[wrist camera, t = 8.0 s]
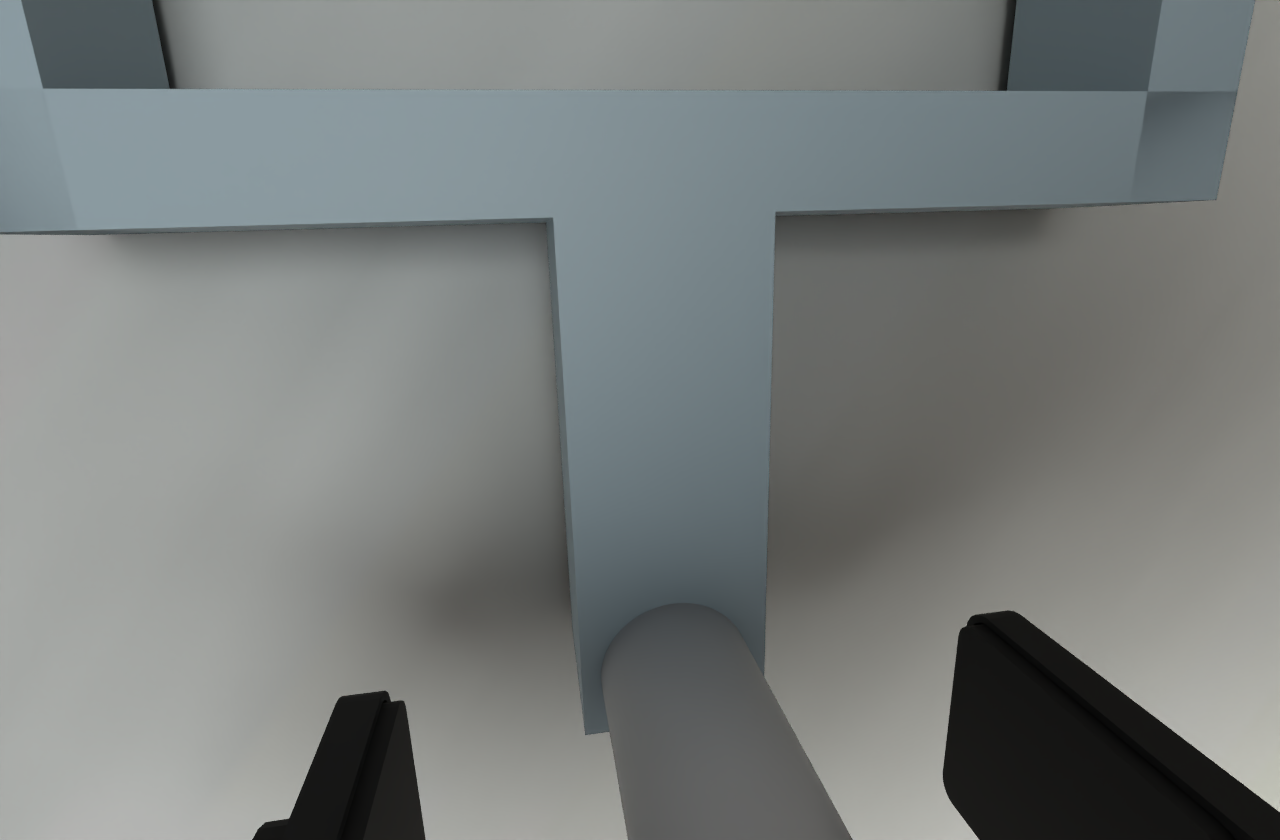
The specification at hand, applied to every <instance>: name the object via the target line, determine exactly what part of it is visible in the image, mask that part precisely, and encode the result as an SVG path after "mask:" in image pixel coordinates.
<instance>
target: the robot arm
mask: <svg viewBox="0 0 1280 840" xmlns="http://www.w3.org/2000/svg"><path fill="white" fill-rule="evenodd" d="M943 782H944V786H945V790H946V793H947V795H948V797H949V799H950V801H951V802H952V804H953V805H954V807H955V808H956V809H957V811H958V812H959V813H960V815H961V816H962V817H963V818H964V820H965V821H966V822H967V824H968V825H969V826H970V828H971V829H972V830H973V832H974V833H975V834H976V836H977V837H978V838H979V840H1280V812H1278V811H1277V810H1276V809H1275V808H1273V807H1272V806H1271V805H1269V804H1268V803H1267V802H1265V801H1264V800H1263V799H1261V798H1260V797H1259V796H1257V795H1256V794H1255V793H1254V792H1252V791H1251V790H1250V789H1248V788H1247V787H1246V786H1244V785H1243V784H1242V783H1240V782H1239V781H1238V780H1236V779H1235V778H1234V777H1233V776H1231V775H1230V774H1229V773H1227V772H1226V771H1225V770H1223V769H1222V768H1221V767H1219V766H1218V765H1217V764H1215V763H1214V762H1213V761H1212V760H1210V759H1209V758H1208V757H1206V756H1205V755H1204V754H1202V753H1201V752H1200V751H1198V750H1197V749H1196V748H1194V747H1193V746H1192V745H1191V744H1189V743H1188V742H1187V741H1185V740H1184V739H1183V738H1181V737H1180V736H1179V735H1177V734H1176V733H1175V732H1173V731H1172V730H1171V729H1170V728H1168V727H1167V726H1166V725H1164V724H1163V723H1162V722H1160V721H1159V720H1158V719H1156V718H1155V717H1154V716H1152V715H1151V714H1150V713H1149V712H1147V711H1146V710H1145V709H1143V708H1142V707H1141V706H1139V705H1138V704H1137V703H1135V702H1134V701H1133V700H1132V699H1130V698H1129V697H1128V696H1126V695H1125V694H1124V693H1122V692H1121V691H1120V690H1118V689H1117V688H1116V687H1114V686H1113V685H1112V684H1111V683H1109V682H1108V681H1107V680H1105V679H1104V678H1103V677H1101V676H1100V675H1099V674H1097V673H1096V672H1095V671H1093V670H1092V669H1091V668H1090V667H1088V666H1087V665H1086V664H1084V663H1083V662H1082V661H1080V660H1079V659H1078V658H1076V657H1075V656H1074V655H1072V654H1071V653H1070V652H1069V651H1067V650H1066V649H1065V648H1063V647H1062V646H1061V645H1059V644H1058V643H1057V642H1055V641H1054V640H1053V639H1051V638H1050V637H1049V636H1048V635H1046V634H1045V633H1044V632H1042V631H1041V630H1040V629H1038V628H1037V627H1036V626H1034V625H1033V624H1032V623H1030V622H1029V621H1028V620H1027V619H1025V618H1024V617H1023V616H1021V615H1020V614H1018V613H1016V612H1014V611H1001V612H994V613H986V614H978V615H974V616H972V617H971V618H970V619H969V621H968V622H967V626H966V627H963V628H962V629H961V630H960V633H959V636H958V645H957V654H956V662H955V671H954V680H953V689H952V697H951V706H950V715H949V724H948V732H947V741H946V750H945V759H944V767H943ZM252 840H425V833H424V826H423V820H422V813H421V806H420V799H419V792H418V786H417V779H416V772H415V765H414V759H413V752H412V745H411V738H410V731H409V725H408V718H407V711H406V706H405V703H404V701H394V702H391V700H390V696H389V694H388V692H387V691H379V692H372V693H364V694H356V695H348V696H342V697H340V698H339V699H338V701H337V703H336V705H335V707H334V710H333V712H332V715H331V717H330V720H329V722H328V725H327V727H326V729H325V732H324V734H323V737H322V739H321V742H320V744H319V747H318V749H317V752H316V754H315V757H314V759H313V762H312V764H311V767H310V769H309V771H308V774H307V776H306V779H305V781H304V784H303V786H302V789H301V791H300V794H299V796H298V799H297V801H296V804H295V806H294V809H293V811H292V813H291V816H290V818H289V819H284V820H278V821H271V822H265V823H264V824H263V825H262V826H261V827H260V828H259V829H258V831H257V832H256V834H255V836H254V838H253V839H252Z"/></svg>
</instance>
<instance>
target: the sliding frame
mask: <svg viewBox="0 0 1280 840" xmlns="http://www.w3.org/2000/svg"><path fill="white" fill-rule="evenodd" d="M1254 4H1255V0H1017V3H1016V12H1015V21H1014V30H1013V39H1012V49H1011V58H1010V67H1009V76H1008V85H1007V91H820V90H395V89H170V88H169V83H168V78H167V73H166V68H165V63H164V58H163V53H162V48H161V43H160V38H159V33H158V28H157V23H156V18H155V13H154V8H153V4H152V0H0V234H34V235H106V234H142V233H178V232H214V231H251V230H287V229H323V228H360V227H396V226H432V225H468V224H505V223H541V222H546V229H547V244H548V259H549V275H550V290H551V305H552V321H553V336H554V352H555V367H556V382H557V398H558V413H559V429H560V444H561V459H562V475H563V490H564V505H565V521H566V536H567V552H568V567H569V582H570V598H571V613H572V629H573V638H574V646H575V654H576V662H577V671H578V679H579V687H580V695H581V703H582V712H583V720H584V728H585V735H589V734H596V733H603V732H610V737H611V743H612V749H613V754H614V760H615V766H616V772H617V778H618V784H619V789H620V795H621V801H622V807H623V813H624V819H625V824H626V830H627V836H628V840H852V838H851V836H850V834H849V832H848V830H847V829H846V827H845V825H844V823H843V821H842V819H841V818H840V816H839V814H838V812H837V810H836V808H835V807H834V805H833V803H832V801H831V799H830V797H829V796H828V794H827V792H826V790H825V788H824V786H823V784H822V783H821V781H820V779H819V777H818V775H817V773H816V772H815V770H814V768H813V766H812V764H811V762H810V761H809V759H808V757H807V755H806V753H805V751H804V750H803V748H802V746H801V744H800V742H799V740H798V739H797V737H796V735H795V733H794V731H793V729H792V727H791V726H790V724H789V722H788V720H787V718H786V716H785V715H784V713H783V711H782V709H781V707H780V705H779V704H778V702H777V700H776V698H775V696H774V694H773V693H772V691H771V689H770V687H769V685H768V683H767V682H766V680H765V678H764V661H765V620H766V579H767V538H768V497H769V456H770V415H771V374H772V333H773V292H774V251H775V216H795V215H831V214H868V213H904V212H940V211H976V210H1013V209H1049V208H1075V207H1093V206H1112V205H1131V204H1149V203H1168V202H1186V201H1205V200H1216V199H1217V194H1218V189H1219V183H1220V178H1221V173H1222V168H1223V163H1224V158H1225V153H1226V147H1227V142H1228V137H1229V132H1230V127H1231V122H1232V117H1233V112H1234V106H1235V101H1236V96H1237V91H1238V86H1239V81H1240V76H1241V70H1242V65H1243V60H1244V55H1245V50H1246V45H1247V40H1248V34H1249V29H1250V24H1251V19H1252V14H1253V9H1254Z"/></svg>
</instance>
